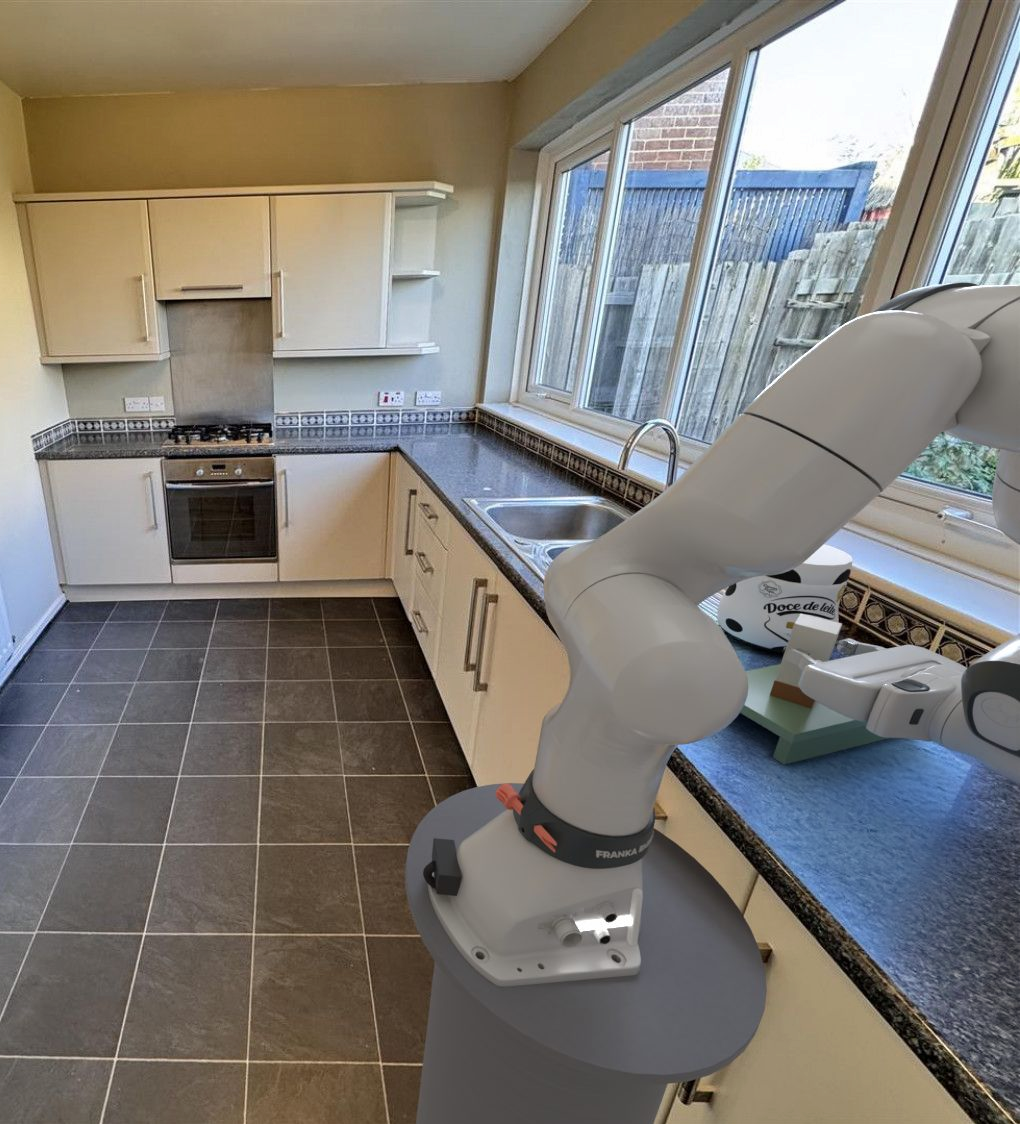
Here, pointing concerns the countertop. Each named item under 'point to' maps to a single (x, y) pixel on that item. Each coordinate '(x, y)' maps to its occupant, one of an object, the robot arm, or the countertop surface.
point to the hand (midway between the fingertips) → (816, 648)
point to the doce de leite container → (785, 599)
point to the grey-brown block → (813, 639)
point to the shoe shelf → (800, 722)
